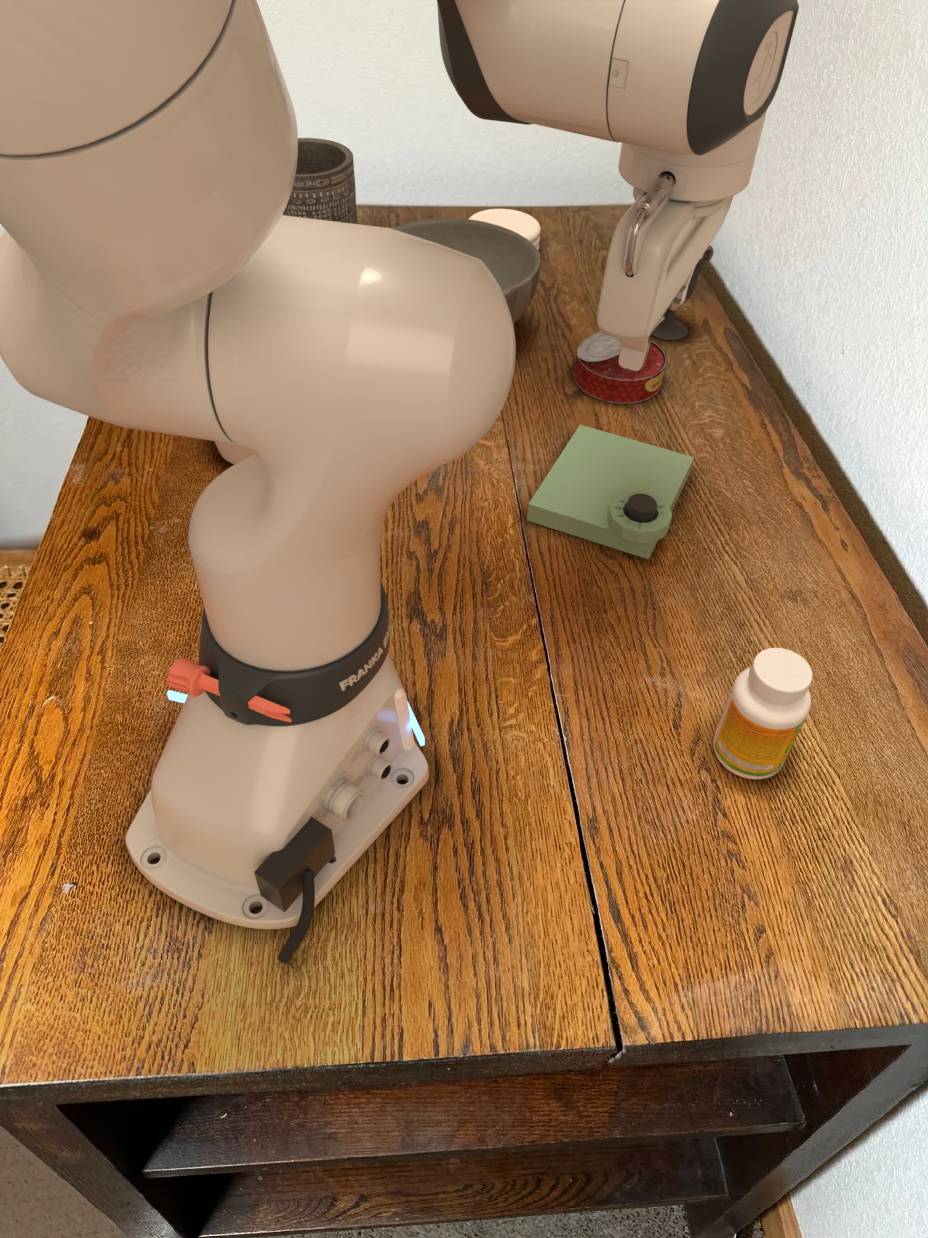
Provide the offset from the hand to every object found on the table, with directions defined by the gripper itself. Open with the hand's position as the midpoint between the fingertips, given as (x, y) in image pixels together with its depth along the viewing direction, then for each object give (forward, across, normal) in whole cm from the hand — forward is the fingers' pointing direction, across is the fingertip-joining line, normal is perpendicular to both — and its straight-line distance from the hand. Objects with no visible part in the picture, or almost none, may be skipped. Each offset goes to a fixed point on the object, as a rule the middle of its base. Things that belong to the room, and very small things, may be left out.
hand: (652, 333), depth 72 cm
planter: (+22, +32, +54) cm, 66 cm away
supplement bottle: (+20, -19, -18) cm, 33 cm away
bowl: (+21, +24, +29) cm, 43 cm away
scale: (+21, +4, +2) cm, 21 cm away
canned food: (+21, +24, +8) cm, 33 cm away
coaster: (+22, +47, +33) cm, 61 cm away
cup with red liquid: (+21, -6, +37) cm, 42 cm away
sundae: (+22, +37, +7) cm, 43 cm away
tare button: (+17, -1, -2) cm, 17 cm away
